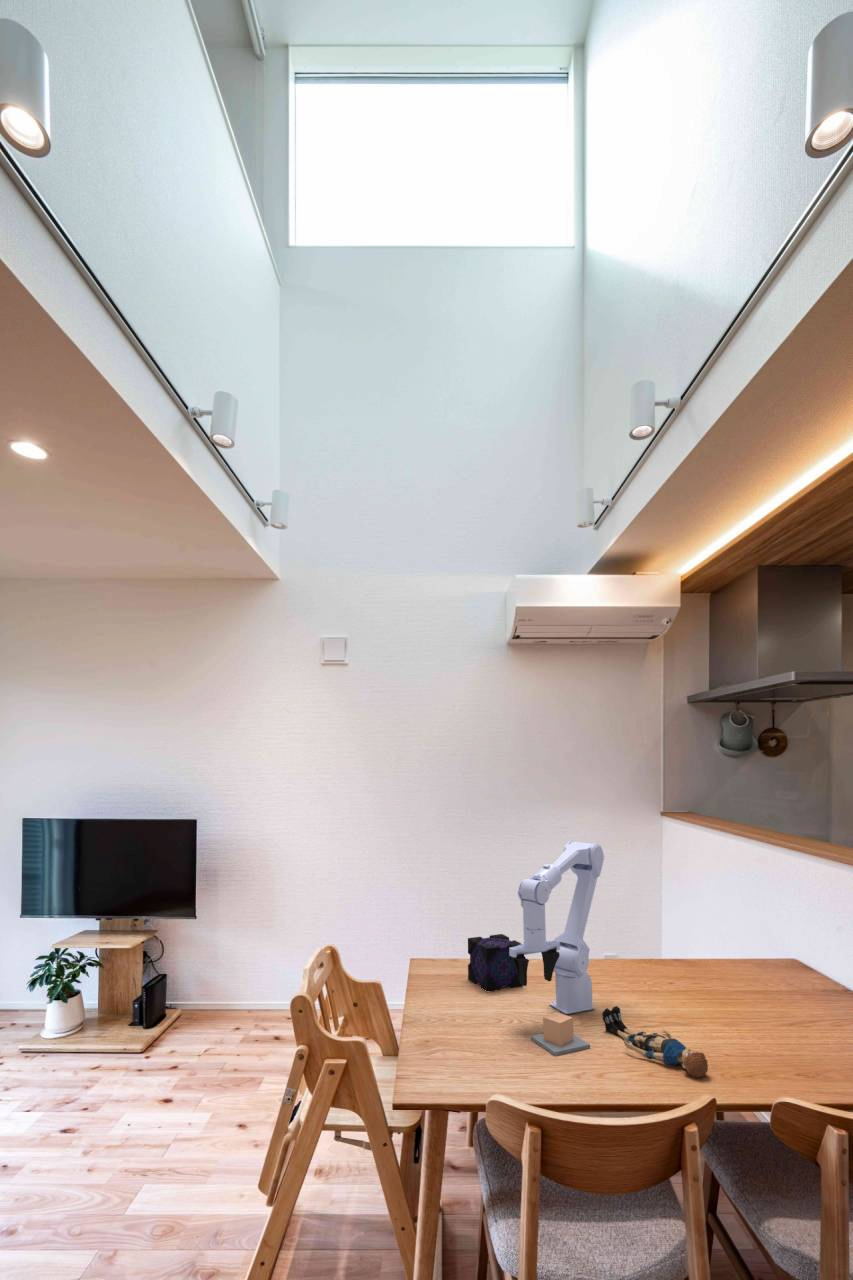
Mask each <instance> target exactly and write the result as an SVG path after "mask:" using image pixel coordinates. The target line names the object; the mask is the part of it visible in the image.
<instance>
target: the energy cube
mask: <svg viewBox="0 0 853 1280" xmlns="http://www.w3.org/2000/svg"><path fill="white" fill-rule="evenodd" d="M521 944H522V943H521V942H519V941H517V940H516V939H514V940H510V937H509V936H507V935H505V934H503V933H500V934H499V933H498V934H491V935H489V937H482V936H477V937H476V936H475V937H467V954H469V963H468V964H467V976H468V977H467V980H468V981H470V982H471V983H473V984H475V985H477V984H478V985H479V988H480V987H481V988H480V989H482V988H483V989H484V991H485V990H486V991H491V992H496V991H495V990H497V991H500V990H501V989H502V988H508V987H509V988H508V989H516V988H522V987H524V986H523V985H521V984H520V981H519V977H518V973H517V970H516V967H515V965H514V963H513V961H512V959H511V956H510V955H509V948H511V947H515V946H518V945H521ZM515 987H516V988H515ZM483 989H482V990H483ZM486 991H485V992H486Z"/></svg>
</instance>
